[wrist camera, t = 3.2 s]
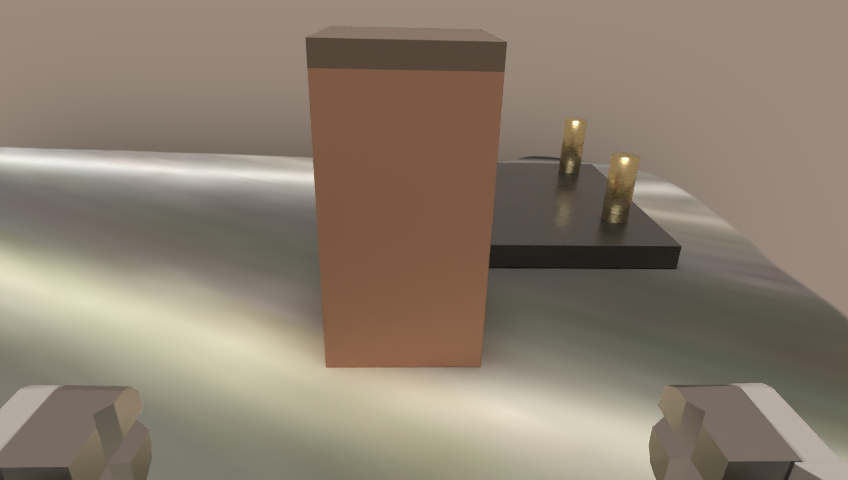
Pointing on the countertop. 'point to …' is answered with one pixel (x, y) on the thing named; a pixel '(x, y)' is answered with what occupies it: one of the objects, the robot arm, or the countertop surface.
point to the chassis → (574, 214)
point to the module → (404, 190)
